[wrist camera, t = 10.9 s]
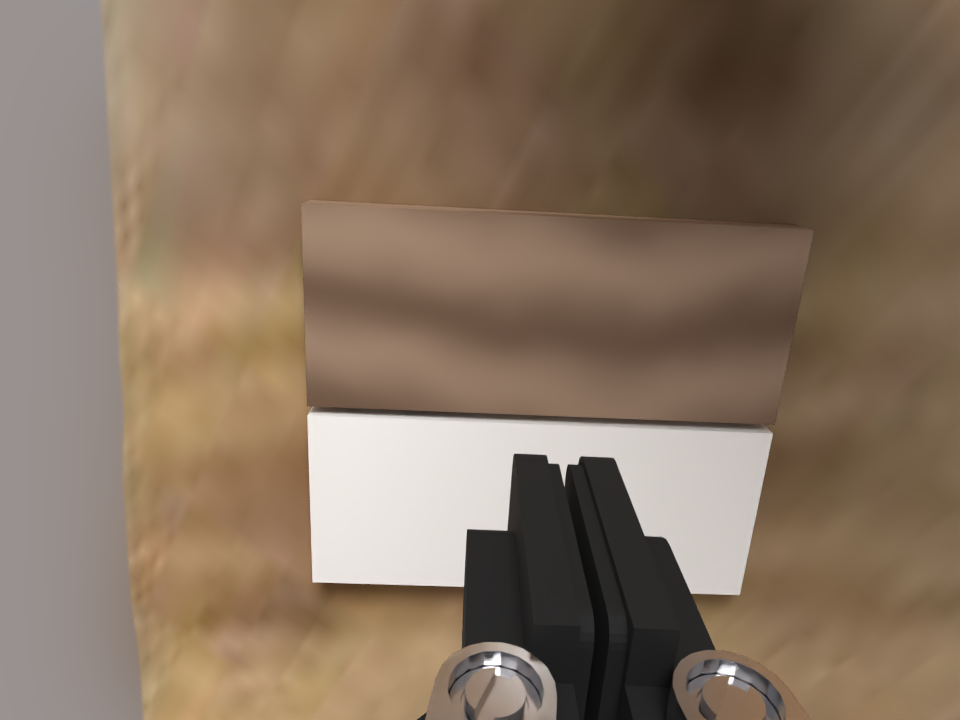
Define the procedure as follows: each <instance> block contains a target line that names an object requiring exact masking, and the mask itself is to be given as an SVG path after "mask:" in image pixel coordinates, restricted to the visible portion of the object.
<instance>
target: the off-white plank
mask: <svg viewBox="0 0 960 720" xmlns="http://www.w3.org/2000/svg"><path fill="white" fill-rule="evenodd" d="M307 416H308V448H309V481H310V513H311V545H312V578H313V582H321V583H354V584H387V585H421V586H454V587H464V575H465V555H466V537H467V529H477V530H502V531H507V528H508V515H509V502H510V489H511V476H512V464H513V456H514V454H538V455H547V458H548V463H550V464H559V466H560V470H561V474H562V479H563V483H564V486H565V477H566V469H567V466H568V464H574V465H578V462H579V458H580V457H581V456H585V457H609V458H614V459H615V461H616V463H617V466H618V469H619V471H620V474H621V476H622V479H623V481H624V484H625V487H626V489H627V492H628V494H629V497H630V499H631V502H632V505H633V507H634V510H635V512H636V515H637V517H638V520H639V523H640V525H641V528H642V530H643V533H644V535H645V536H654V537H663V538H665V539H666V540H667V541H668V543H669V545H670V547H671V549H672V551H673V554H674V556H675V558H676V561H677V563H678V565H679V567H680V570H681V572H682V574H683V577H684V579H685V581H686V583H687V586H688V588H689V590H690V593H691V594H722V595H740V591H741V586H742V581H743V577H744V572H745V567H746V562H747V557H748V552H749V547H750V543H751V538H752V533H753V528H754V523H755V518H756V514H757V509H758V504H759V499H760V494H761V489H762V484H763V480H764V475H765V470H766V465H767V460H768V455H769V450H770V446H771V441H772V436H773V433H772V432H771V431H770V430H769V429H768V428H767V427H766V426H764V425H763V424H742V423H717V422H692V421H666V420H641V419H616V418H590V417H565V416H540V415H515V414H489V413H464V412H439V411H413V410H388V409H363V408H338V407H312V408H311V410H310V412H309V414H308V415H307Z"/></svg>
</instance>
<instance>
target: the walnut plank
mask: <svg viewBox="0 0 960 720" xmlns="http://www.w3.org/2000/svg"><path fill="white" fill-rule="evenodd" d="M301 214H302V248H303V281H304V315H305V349H306V382H307V406H312V407H338V408H363V409H388V410H413V411H439V412H464V413H489V414H515V415H540V416H565V417H590V418H616V419H641V420H666V421H692V422H717V423H742V424H768V425H775V421H776V416H777V411H778V406H779V401H780V397H781V392H782V387H783V382H784V377H785V372H786V367H787V362H788V357H789V352H790V347H791V342H792V338H793V333H794V328H795V323H796V318H797V313H798V308H799V303H800V298H801V293H802V288H803V283H804V279H805V274H806V269H807V264H808V259H809V254H810V249H811V244H812V239H813V234H814V229H810V228H806V227H802V226H798V225H792V224H773V223H753V222H733V221H714V220H694V219H674V218H655V217H635V216H615V215H596V214H576V213H556V212H537V211H517V210H497V209H478V208H458V207H438V206H419V205H399V204H379V203H359V202H340V201H320V200H309V201H307V202H304V203H302V204H301Z"/></svg>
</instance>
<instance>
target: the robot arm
mask: <svg viewBox="0 0 960 720" xmlns="http://www.w3.org/2000/svg"><path fill="white" fill-rule="evenodd" d="M417 720H811V719H810V718H809V716H808V715H807V713H806V712H805V710H804V709H803V708H802V706H801V705H800V703H799V702H798V701H797V699H796V698H795V696H794V695H793V694H792V692H791V691H790V690H789V689H788V687H787V686H786V685H785V684H784V683H783V682H782V681H781V680H780V679H779V678H778V676H776V675H775V674H774V673H772V672H771V671H770V670H768V669H767V668H765V667H764V666H763V665H761V664H760V663H757V662H755V661H753V660H751V659H749V658H747V657H745V656H743V655H739V654H735V653H732V652H728V651H723V650H715V647H714V645H713V643H712V641H711V638H710V636H709V634H708V631H707V629H706V627H705V625H704V622H703V620H702V618H701V615H700V613H699V611H698V609H697V606H696V604H695V602H694V599H693V597H692V595H691V593H690V590H689V588H688V586H687V583H686V581H685V579H684V577H683V574H682V572H681V570H680V567H679V565H678V563H677V561H676V558H675V556H674V554H673V551H672V549H671V547H670V545H669V543H668V541H667V540H666V539H665V538H663V537H654V536H645V535H644V533H643V530H642V528H641V525H640V523H639V520H638V517H637V515H636V512H635V510H634V507H633V505H632V502H631V499H630V497H629V494H628V492H627V489H626V487H625V484H624V481H623V479H622V476H621V474H620V471H619V469H618V466H617V463H616V461H615V459H614V458H609V457H585V456H581V457H580V458H579V462H578V465H574V464H568V466H567V469H566V477H565V486H564V483H563V479H562V474H561V470H560V466H559V464H550V463H548V458H547V455H538V454H514V456H513V464H512V476H511V489H510V502H509V515H508V528H507V531H502V530H477V529H467V537H466V555H465V575H464V599H463V629H462V649H461V650H459V651H457V652H455V653H453V654H452V655H451V656H450V657H449V658H448V659H447V660H446V661H445V662H444V663H443V664H442V666H441V668H440V670H439V673H438V675H437V677H436V679H435V683H434V687H433V691H432V695H431V699H430V702H429V706H428V710H427V712H426V713H425V714H424V715H423V716H421V717H420V718H419V719H417Z"/></svg>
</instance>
